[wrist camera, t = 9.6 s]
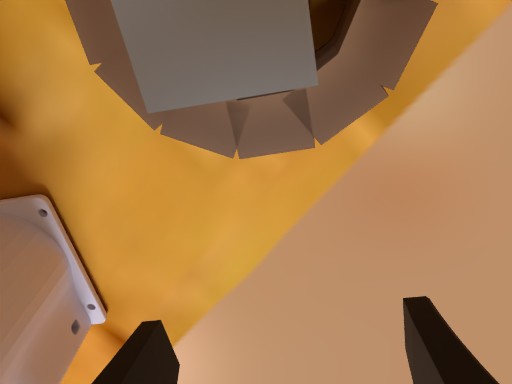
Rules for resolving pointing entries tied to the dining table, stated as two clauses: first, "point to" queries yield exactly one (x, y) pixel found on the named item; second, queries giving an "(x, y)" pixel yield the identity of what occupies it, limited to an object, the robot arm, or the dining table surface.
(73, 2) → the walnut ring
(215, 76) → the slate peg
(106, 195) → the dining table surface
